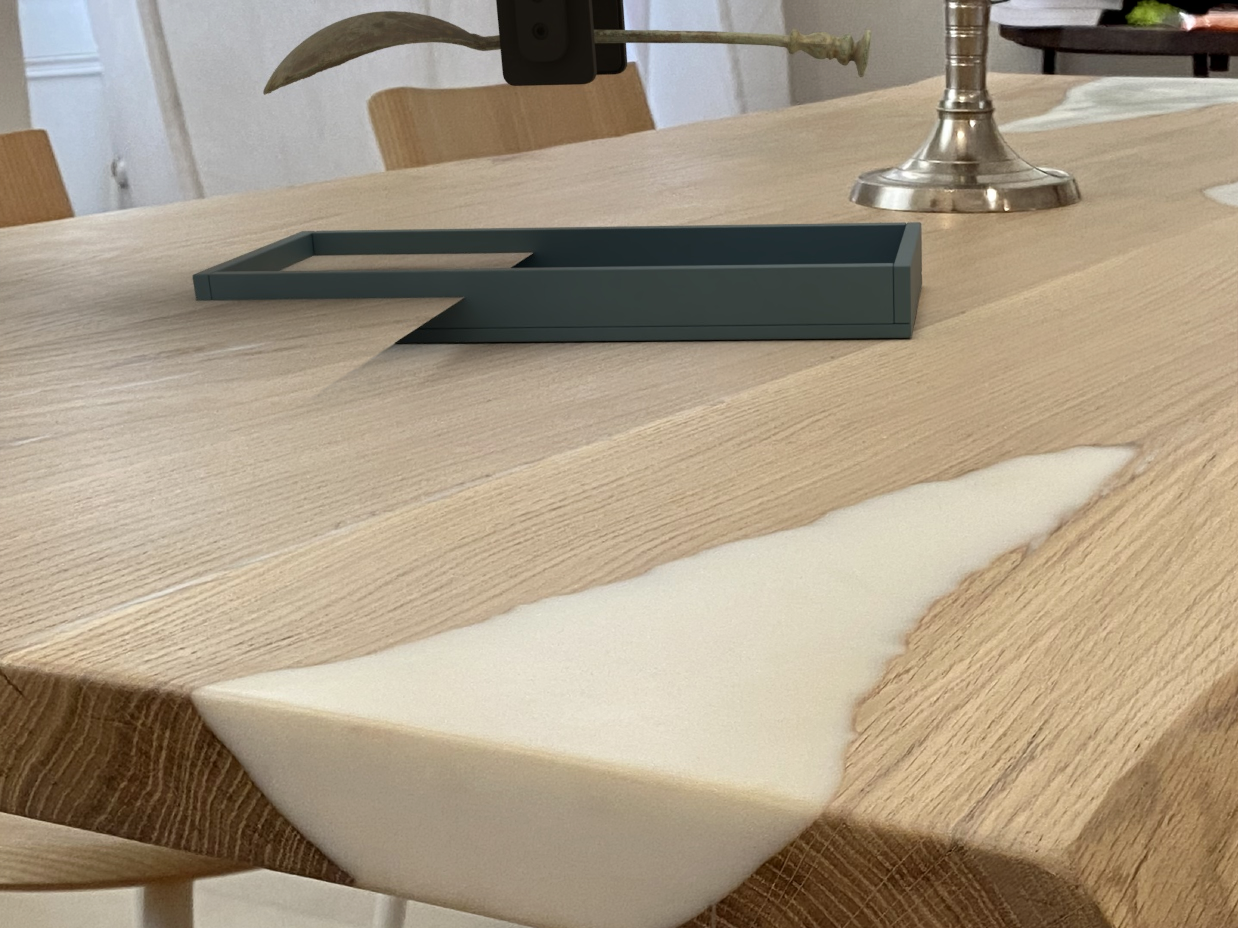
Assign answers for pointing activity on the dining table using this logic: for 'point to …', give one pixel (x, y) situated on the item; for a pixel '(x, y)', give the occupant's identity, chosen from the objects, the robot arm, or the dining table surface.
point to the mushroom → (408, 28)
